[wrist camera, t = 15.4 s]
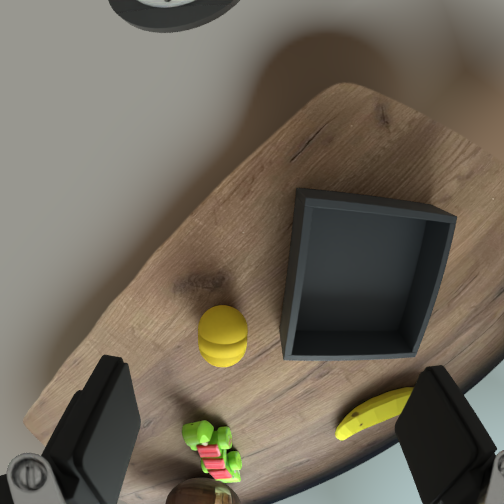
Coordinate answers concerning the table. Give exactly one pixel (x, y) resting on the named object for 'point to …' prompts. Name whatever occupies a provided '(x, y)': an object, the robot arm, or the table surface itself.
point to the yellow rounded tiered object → (222, 335)
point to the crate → (361, 276)
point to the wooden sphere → (202, 492)
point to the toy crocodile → (214, 450)
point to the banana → (373, 412)
